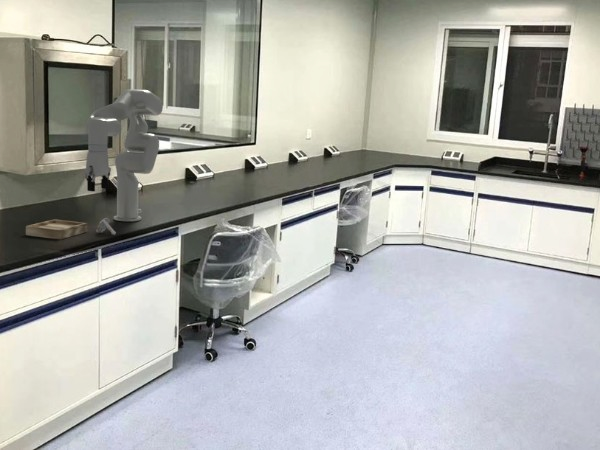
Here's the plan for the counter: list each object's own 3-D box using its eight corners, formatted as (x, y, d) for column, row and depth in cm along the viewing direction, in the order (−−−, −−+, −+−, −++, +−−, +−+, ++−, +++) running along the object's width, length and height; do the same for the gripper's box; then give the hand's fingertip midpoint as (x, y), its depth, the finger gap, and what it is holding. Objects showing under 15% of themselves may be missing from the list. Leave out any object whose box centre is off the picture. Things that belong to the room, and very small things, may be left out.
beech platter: (54, 227, 258) (54, 219, 258) (87, 231, 254) (87, 223, 254) (25, 235, 241) (25, 226, 240) (60, 239, 237) (60, 230, 237)
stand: (94, 232, 252) (101, 218, 249) (103, 231, 256) (111, 217, 253) (105, 244, 250) (112, 230, 246) (114, 243, 254) (121, 229, 250)
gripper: (102, 147, 256) (102, 186, 260) (77, 149, 240) (77, 191, 243) (117, 148, 255) (117, 188, 258) (93, 150, 238) (93, 193, 241)
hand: (98, 189), depth 251 cm, fingers open, 9 cm apart
